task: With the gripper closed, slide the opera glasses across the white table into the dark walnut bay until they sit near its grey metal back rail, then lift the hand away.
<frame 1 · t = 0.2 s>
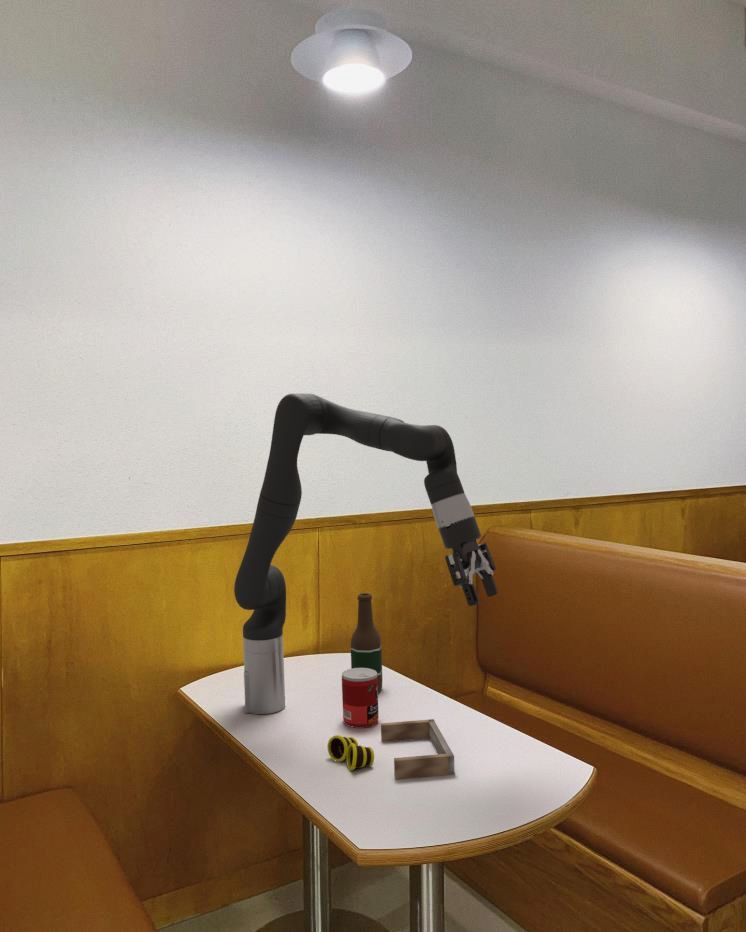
hand: (484, 600, 152), 31 cm above the table, tool tilted 20°, fingers open, 8 cm apart
opera glasses: (351, 763, 153), on the table
walnut bay: (412, 756, 155), on the table
beer bottle: (367, 690, 194), on the table
canned food: (360, 722, 174), on the table
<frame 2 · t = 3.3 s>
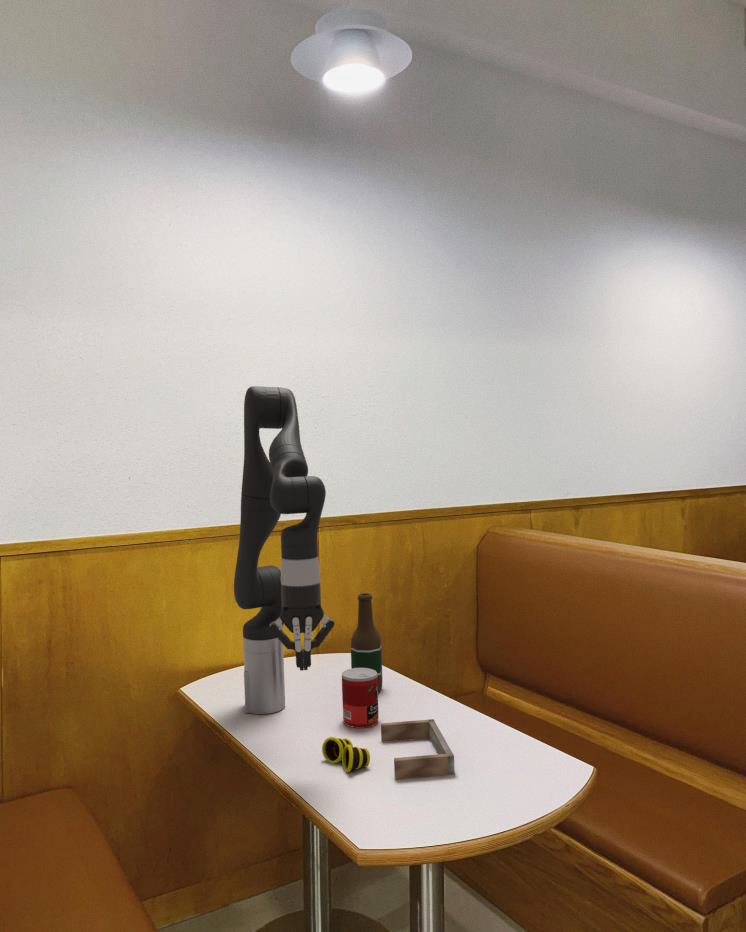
hand: (303, 669, 151), 19 cm above the table, tool pointing down, fingers closed
opera glasses: (347, 765, 153), on the table
everything else where it was.
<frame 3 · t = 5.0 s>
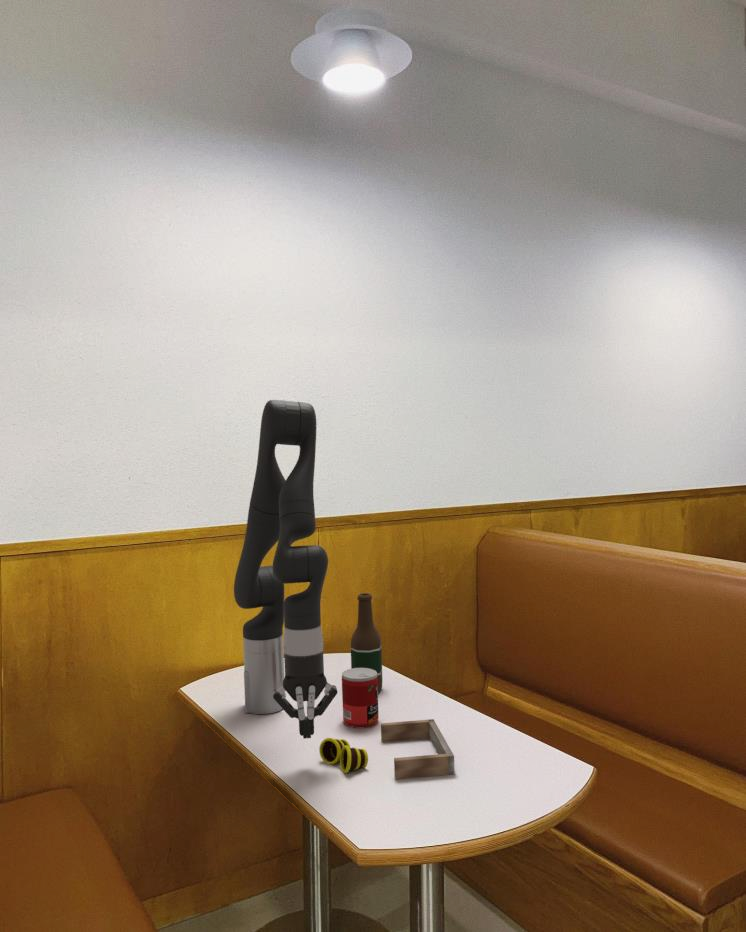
hand: (306, 736, 152), 6 cm above the table, tool pointing down, fingers closed
nothing on the table moved.
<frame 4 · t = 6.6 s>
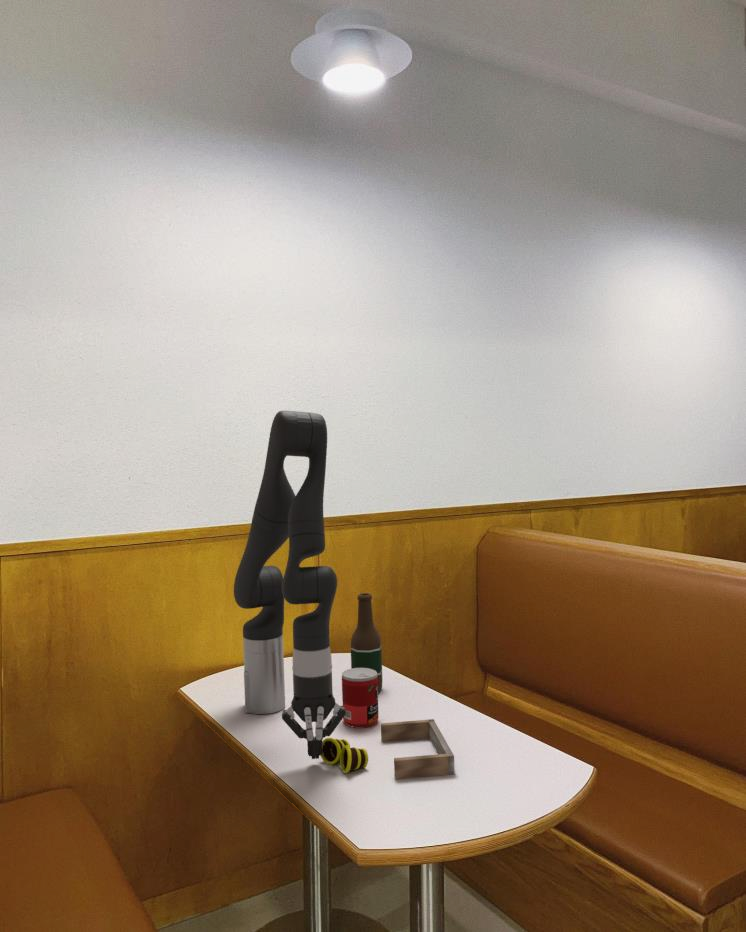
hand: (315, 757, 152), 2 cm above the table, tool pointing down, fingers closed
opera glasses: (344, 766, 152), on the table, touching gripper
everything else where it was.
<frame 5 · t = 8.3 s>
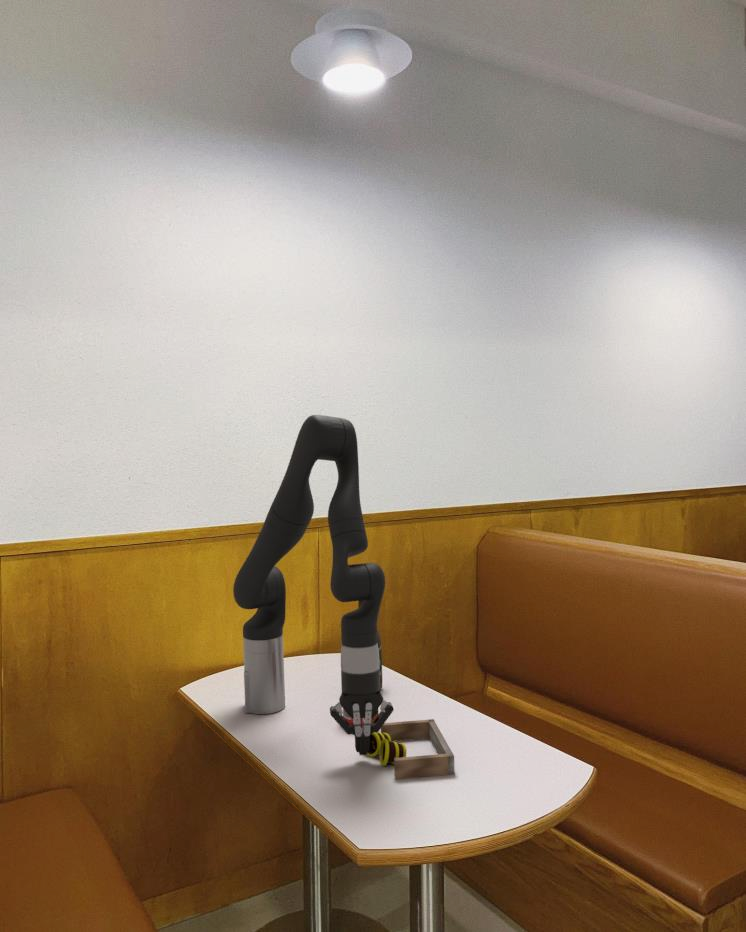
hand: (362, 753, 153), 2 cm above the table, tool pointing down, fingers closed
opera glasses: (384, 759, 155), on the table
everything else where it was.
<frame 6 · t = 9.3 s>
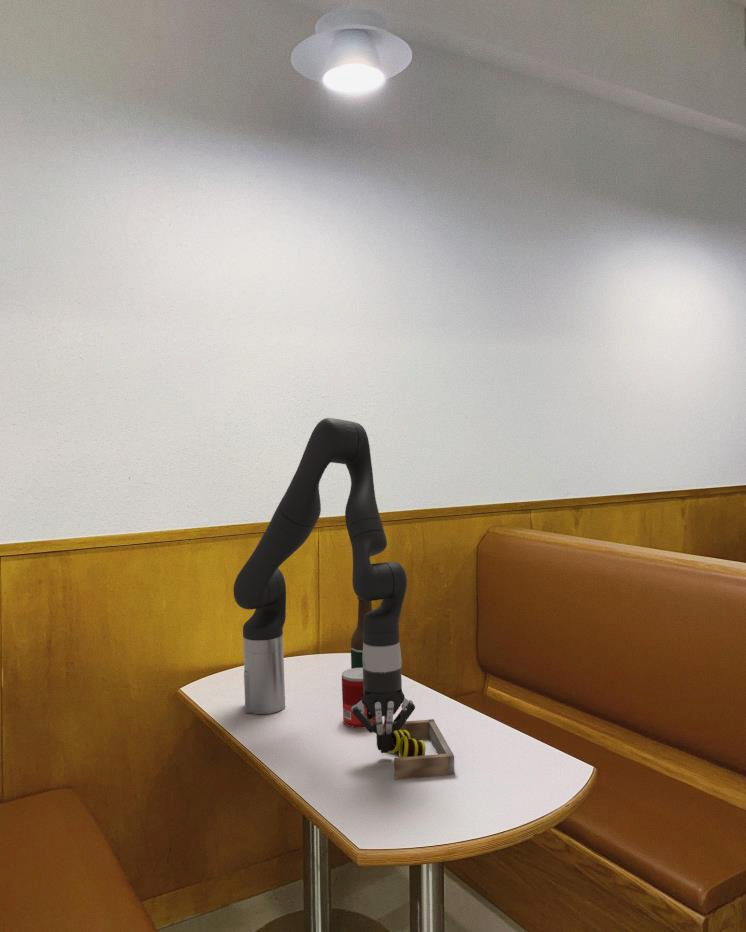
hand: (384, 751, 154), 2 cm above the table, tool pointing down, fingers closed
opera glasses: (403, 756, 156), on the table, touching gripper
everything else where it was.
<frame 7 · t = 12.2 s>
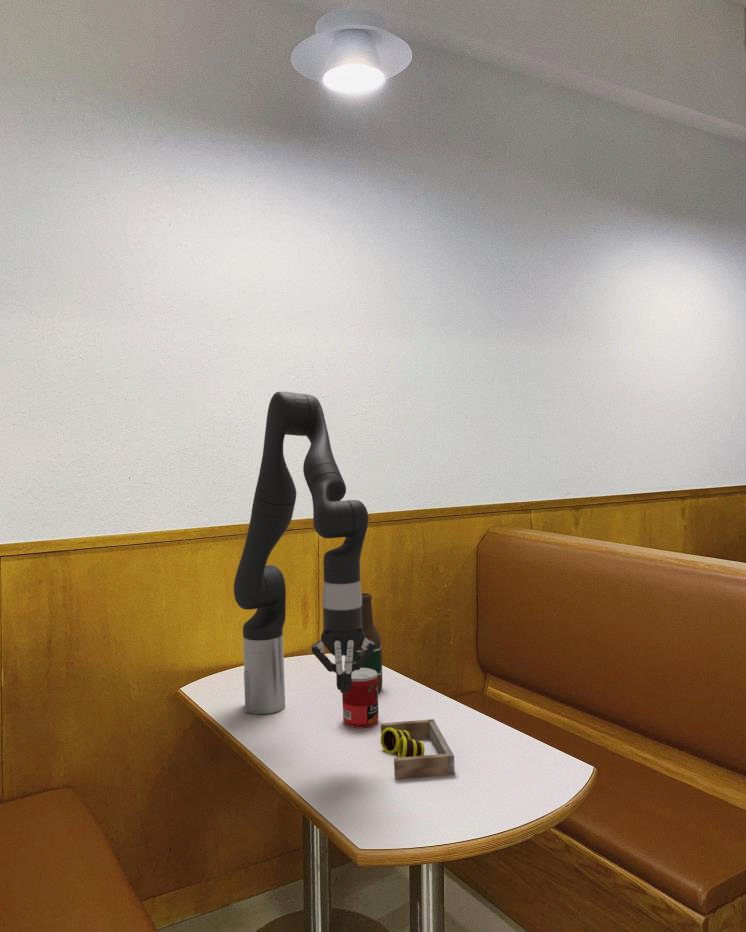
hand: (344, 691, 152), 14 cm above the table, tool pointing down, fingers closed
opera glasses: (403, 756, 156), on the table
everything else where it was.
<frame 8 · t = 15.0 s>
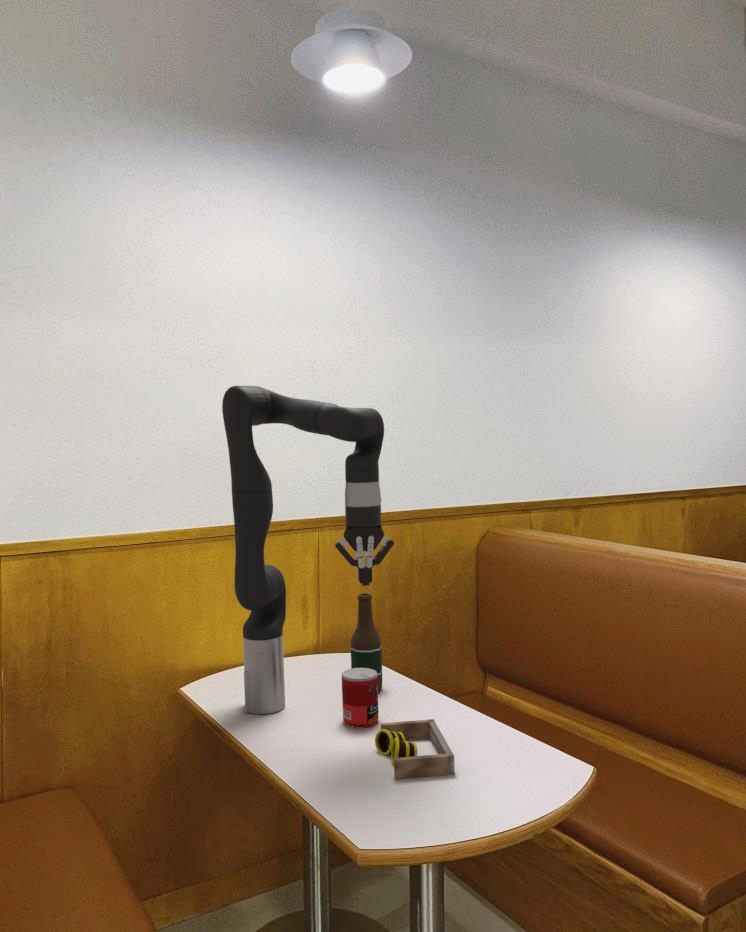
hand: (365, 584, 165), 32 cm above the table, tool pointing down, fingers closed
opera glasses: (397, 758, 155), on the table
everything else where it was.
at the end: opera glasses inside the target area on the walnut bay (4.0 cm from its centre), point 0.0 cm above the walnut bay's base; the gripper is holding nothing; opera glasses moved 8.9 cm from its start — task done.
